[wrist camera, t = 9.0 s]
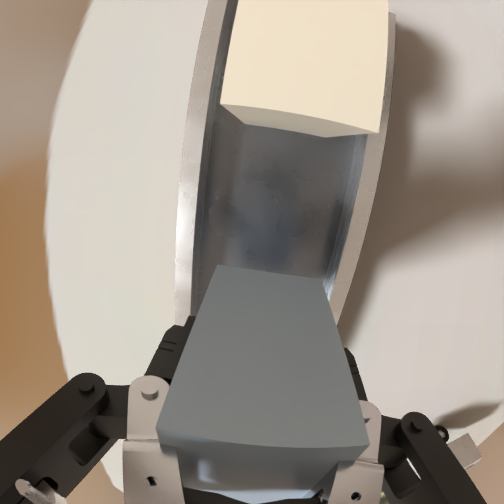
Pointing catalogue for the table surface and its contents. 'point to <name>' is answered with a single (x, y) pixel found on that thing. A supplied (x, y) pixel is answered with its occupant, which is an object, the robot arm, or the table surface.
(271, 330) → the block
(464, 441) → the grey wheeled device
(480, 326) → the table surface
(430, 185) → the table surface
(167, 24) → the table surface
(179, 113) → the table surface
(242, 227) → the tray
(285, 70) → the block
